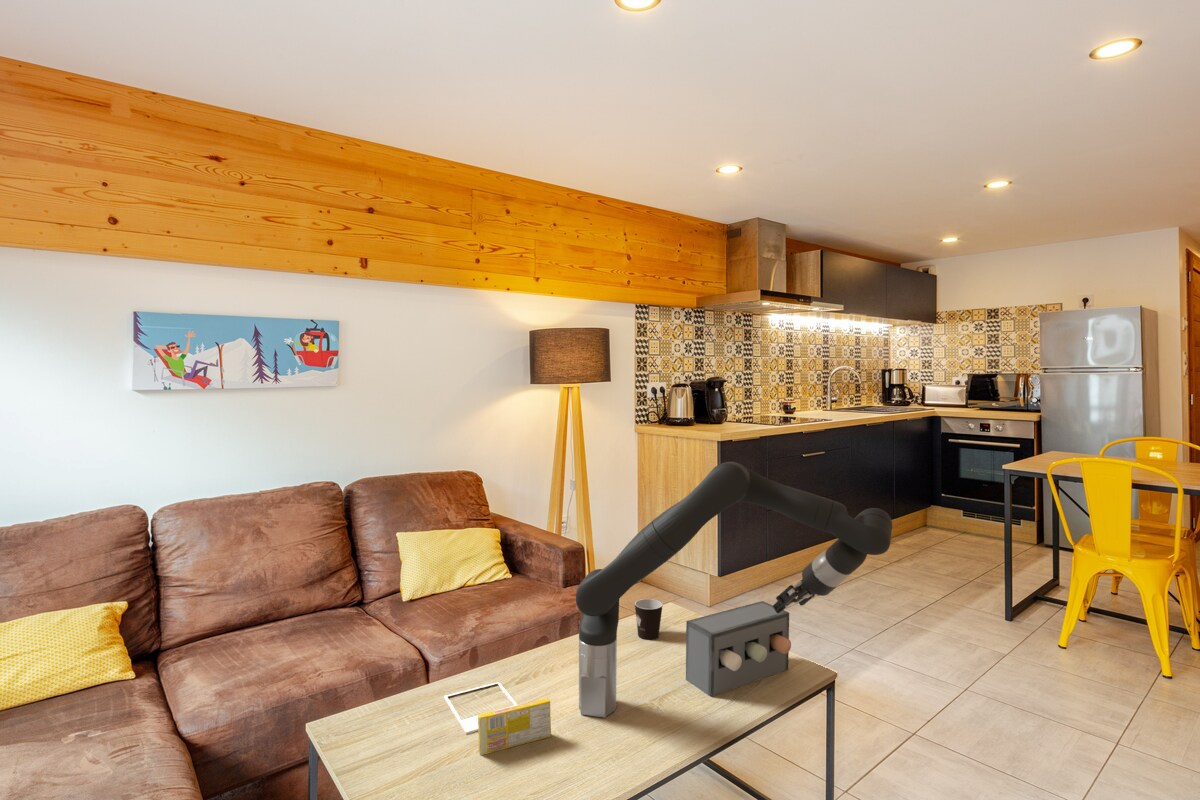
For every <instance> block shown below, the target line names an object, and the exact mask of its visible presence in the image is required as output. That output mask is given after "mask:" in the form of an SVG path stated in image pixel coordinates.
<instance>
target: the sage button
mask: <svg viewBox="0 0 1200 800" xmlns="http://www.w3.org/2000/svg"><path fill="white" fill-rule="evenodd" d="M745 651H746V653H747V655H748V656H749V657H751V658H752V659H754V660H756V661H758V662H763V661H764V660H765V658H766V656H767V649H766V648H765V647H763V646H761V645H759V644H757V643H756V642H751V643H749V642H745Z"/></svg>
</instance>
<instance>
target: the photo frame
mask: <svg viewBox="0 0 1200 800" xmlns="http://www.w3.org/2000/svg"><path fill="white" fill-rule="evenodd" d="M496 685H498V688H499V689H500V690H501V692H502V693H503V694H504V695H505V696H506V697H507V699H508V700H509V702H510V703H511V704H512V705H510V706H506V707H503V708H499V709H496V710H494V711H497V710H501V709H505V708H509V707H513V706H517V705H518V703H517V702H516V700H514V699H513V697H512V696H511V694H510V693H509V692H508V691H507V689H506V688H505V687H504V686H503V685H502V683H501V682H500V681H497V682H492V683H489V684H488V683H487V684H485V685H481V686H478V687H474V688H469V689H465V690H461V691H457V692H454V693H451V694H447V695H446V694H445V695H444V696H443V699H444V701H445V702H446V704H447V706H448V707H449V709H450V710H451V712H452V714H453V715H454V717H455V719H456V721H457V722H458V724H459V725H460V727H461V729H462V730H463V732H464V734H465V735H469V734H473V733H475V732H478V715H475V716H471V717H467V718H464V719H461V717H460V715H459V713H458V711H457V710H456V709H455V707H454V705H453V704H452V701H451V700H450V699H449V697H453V696H456V695H462V694H465V693H467V692H468V693H469V692H471V691H475V690H479V689H483V688H487V687H488V688H489V687H491V686H496Z"/></svg>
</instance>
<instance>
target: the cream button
mask: <svg viewBox="0 0 1200 800" xmlns="http://www.w3.org/2000/svg"><path fill="white" fill-rule="evenodd" d="M719 659H720V661H721V664H722V665H724V666H726V667H727V668H729V669H731V670H733V671H736V670H738V669H739V667H740V666H741V662H742V659H741V657H740V656H739V655H737V654H736V653H734V652H732V651H730V650H725V651H724V650H722V649H721V650H719Z"/></svg>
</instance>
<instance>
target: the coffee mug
mask: <svg viewBox="0 0 1200 800" xmlns="http://www.w3.org/2000/svg"><path fill="white" fill-rule="evenodd" d="M663 605H664V604H663V603H662V602H661V601H660V600H657V599H652V598H642V599H638V600H636V601H635V602H634V611H635V619H636V628H637V629H636V630H637V636H638V638H639V639H641V640H647V641H652V640H653V641H654V640H656V639H659V635H660V628H661V620H662V614H663V613H662V612H663Z"/></svg>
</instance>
